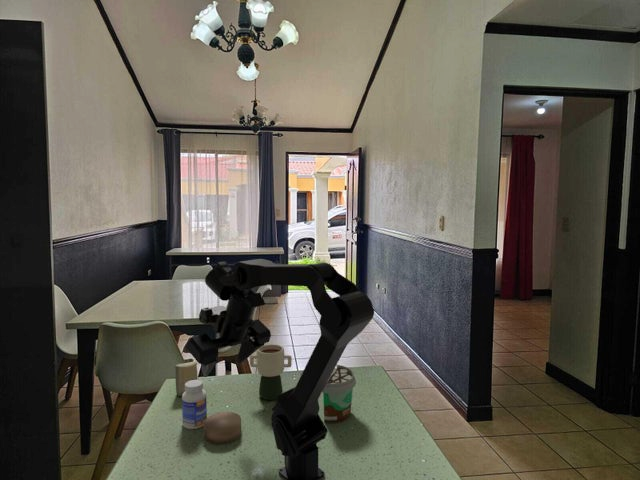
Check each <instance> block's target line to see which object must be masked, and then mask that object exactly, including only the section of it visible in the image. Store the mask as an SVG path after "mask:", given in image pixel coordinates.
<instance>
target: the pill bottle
mask: <svg viewBox="0 0 640 480" xmlns="http://www.w3.org/2000/svg"><path fill="white" fill-rule="evenodd" d="M203 388H204V381H203V380H201V379H197V380H191V381H188V382H186V383H185V392H184V393H183V395H182V396H181V408H182V409H181V411H182V425H183V427H184V428H185V429H187V430H196V429H199V428H202V427H204V421H205V420H206V418H207V417H208V413H207V412H208V408H207V391H206V390H205V389H203Z"/></svg>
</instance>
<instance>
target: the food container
mask: <svg viewBox="0 0 640 480" xmlns="http://www.w3.org/2000/svg"><path fill="white" fill-rule="evenodd" d="M356 380H357V379H356V376H355V374H354V372H353V370H352V369H351V368H350V367H347V366H344V365H340V364H337V365H336V369H335V370H334V372H332V374H331V376H330V378H329V380H328V382H327V383H326V385H325V387H324V389H323V391H322V393H323V423H324V424H325V423H327V424H337V423H339V424H340V423H342V422H344V421H347V420H348V419H350V417H351V411H352V399H353V391H354V390H353V389H354V388H355V386H356V384H357V381H356ZM322 393H321V394H322Z"/></svg>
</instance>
